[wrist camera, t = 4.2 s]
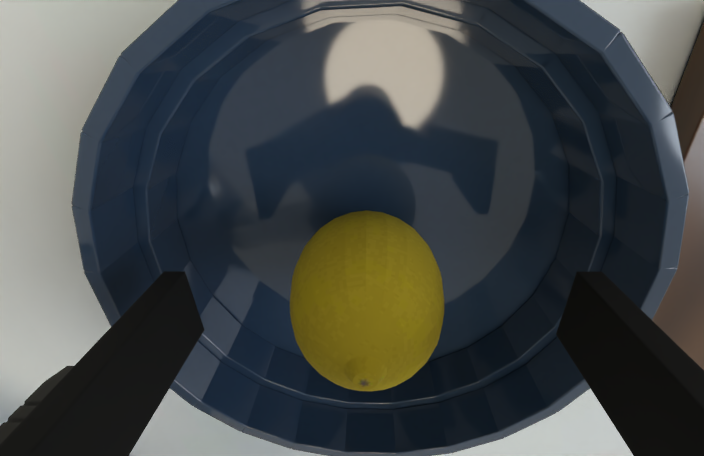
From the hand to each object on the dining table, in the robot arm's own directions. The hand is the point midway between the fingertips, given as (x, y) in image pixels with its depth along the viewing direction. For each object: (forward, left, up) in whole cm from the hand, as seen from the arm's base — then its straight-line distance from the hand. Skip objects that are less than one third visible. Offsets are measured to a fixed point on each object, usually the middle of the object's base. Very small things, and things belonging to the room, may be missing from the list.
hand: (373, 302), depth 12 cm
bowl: (0, 0, -5) cm, 5 cm away
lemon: (0, 0, -5) cm, 5 cm away
